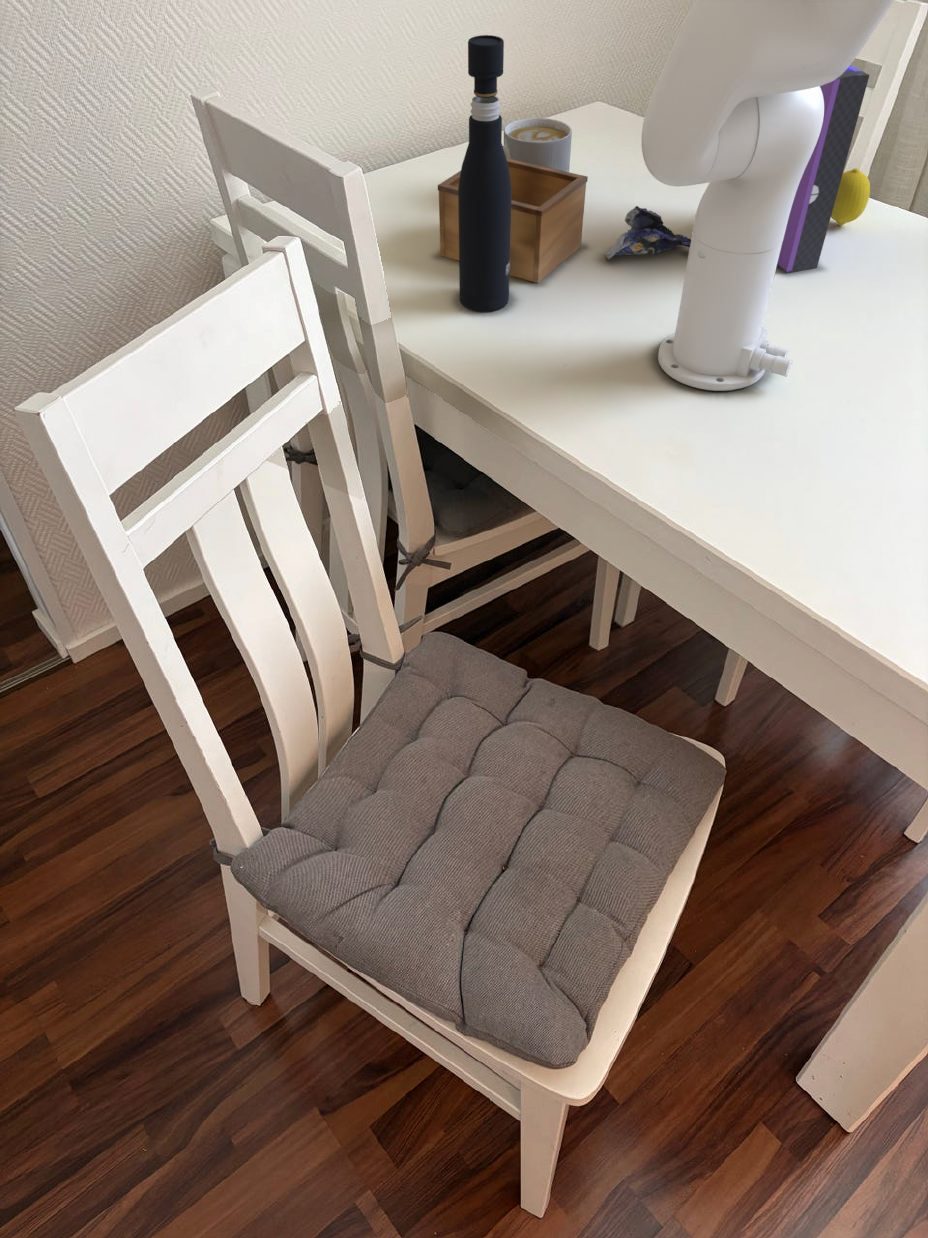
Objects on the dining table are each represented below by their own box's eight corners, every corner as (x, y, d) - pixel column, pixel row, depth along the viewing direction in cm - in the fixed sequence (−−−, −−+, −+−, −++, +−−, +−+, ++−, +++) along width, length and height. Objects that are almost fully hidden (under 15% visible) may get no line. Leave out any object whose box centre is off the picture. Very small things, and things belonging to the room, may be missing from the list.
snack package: (595, 233, 137) (605, 269, 128) (607, 188, 132) (618, 222, 124) (674, 246, 138) (689, 282, 130) (689, 202, 134) (705, 236, 126)
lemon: (867, 229, 137) (885, 172, 131) (836, 236, 135) (852, 178, 130) (844, 214, 140) (860, 158, 134) (812, 220, 139) (827, 164, 133)
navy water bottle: (453, 292, 125) (448, 34, 103) (499, 285, 126) (504, 28, 104) (468, 315, 120) (466, 51, 99) (515, 307, 122) (524, 45, 100)
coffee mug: (559, 183, 149) (563, 115, 142) (573, 210, 142) (578, 139, 135) (475, 189, 148) (475, 121, 140) (486, 216, 141) (486, 146, 133)
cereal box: (722, 220, 139) (758, 35, 122) (751, 215, 140) (790, 31, 123) (786, 273, 128) (835, 77, 110) (816, 267, 129) (870, 72, 111)
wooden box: (581, 246, 134) (587, 176, 127) (538, 283, 126) (542, 211, 119) (486, 221, 140) (487, 153, 132) (439, 255, 132) (437, 184, 125)
